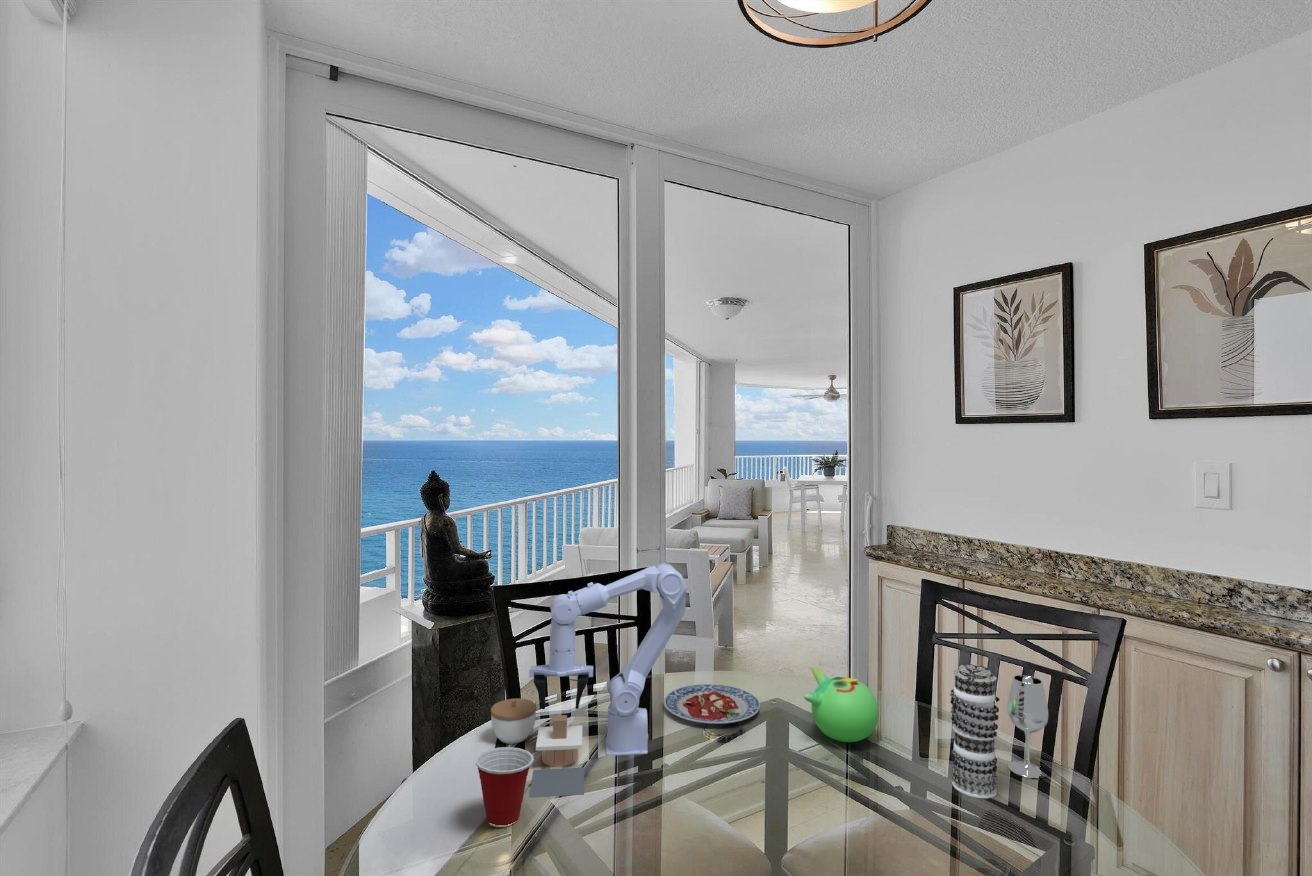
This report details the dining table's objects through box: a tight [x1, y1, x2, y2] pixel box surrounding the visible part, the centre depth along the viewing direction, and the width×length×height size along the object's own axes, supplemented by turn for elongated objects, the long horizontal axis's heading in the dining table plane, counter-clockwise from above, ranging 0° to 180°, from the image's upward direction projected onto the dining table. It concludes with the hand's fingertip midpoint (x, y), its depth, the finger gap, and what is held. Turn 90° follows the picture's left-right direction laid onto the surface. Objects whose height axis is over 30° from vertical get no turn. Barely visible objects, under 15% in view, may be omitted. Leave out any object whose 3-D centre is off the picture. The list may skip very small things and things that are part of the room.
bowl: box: [541, 749, 579, 768], centre depth 147 cm, size 8×8×4 cm
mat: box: [528, 766, 585, 798], centre depth 136 cm, size 11×11×1 cm
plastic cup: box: [475, 746, 534, 825], centre depth 123 cm, size 11×11×12 cm
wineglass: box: [1007, 674, 1049, 779], centre depth 143 cm, size 8×8×20 cm
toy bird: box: [803, 667, 880, 743], centre depth 159 cm, size 18×17×15 cm
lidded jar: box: [490, 698, 537, 745], centre depth 157 cm, size 11×11×9 cm
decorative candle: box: [949, 663, 1000, 799], centre depth 136 cm, size 9×9×25 cm
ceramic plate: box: [663, 683, 761, 725], centre depth 175 cm, size 26×26×3 cm
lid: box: [535, 714, 583, 752], centre depth 147 cm, size 10×10×5 cm
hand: (560, 707), depth 150 cm, fingers open, 7 cm apart
